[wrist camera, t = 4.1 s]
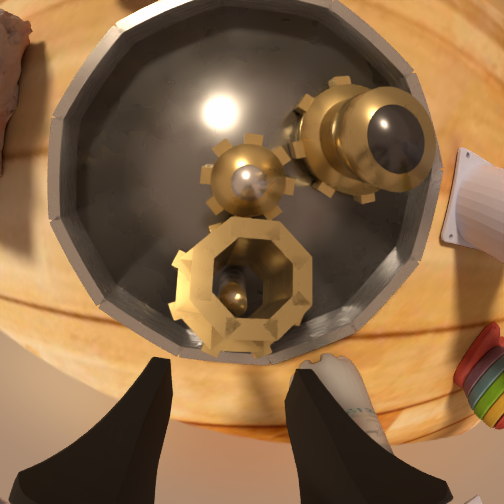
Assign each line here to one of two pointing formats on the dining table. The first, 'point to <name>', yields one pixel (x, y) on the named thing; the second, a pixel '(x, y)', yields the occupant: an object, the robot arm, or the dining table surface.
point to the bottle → (348, 393)
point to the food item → (10, 65)
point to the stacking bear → (485, 376)
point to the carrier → (243, 162)
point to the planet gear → (263, 265)
